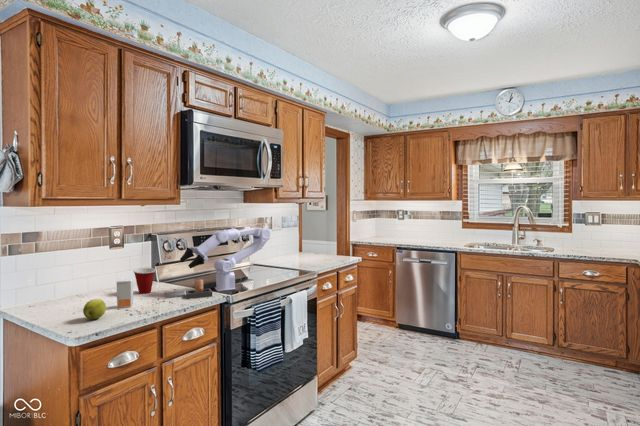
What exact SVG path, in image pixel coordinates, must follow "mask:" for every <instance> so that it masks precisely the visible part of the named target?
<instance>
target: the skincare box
mask: <svg viewBox="0 0 640 426" xmlns="http://www.w3.org/2000/svg"><path fill="white" fill-rule="evenodd" d="M133 306H134V279H133V278H130V279H127V278H126V279H118V280H117V281H116V308H117V309H119V308H121V309H122V308H123V309H124V308H132V307H133Z"/></svg>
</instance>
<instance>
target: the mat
mask: <svg viewBox="0 0 640 426" xmlns="http://www.w3.org/2000/svg"><path fill="white" fill-rule="evenodd" d="M164 294H165V297H166V299H167V298H168V299H169V298H177V297H178V298H180V297H187V296H186V292H185V291H184V290H181V291H180V290H177V291H168V292H164Z"/></svg>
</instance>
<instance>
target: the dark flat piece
mask: <svg viewBox="0 0 640 426" xmlns="http://www.w3.org/2000/svg"><path fill="white" fill-rule="evenodd" d="M185 294H186V296H185V297H186V298H187V299H188V300H192V299H201V298H211V297H213V290H212V289H211V288H203V292H198V293H195V289H193V290H191V289H190V290H186V291H185Z"/></svg>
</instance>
